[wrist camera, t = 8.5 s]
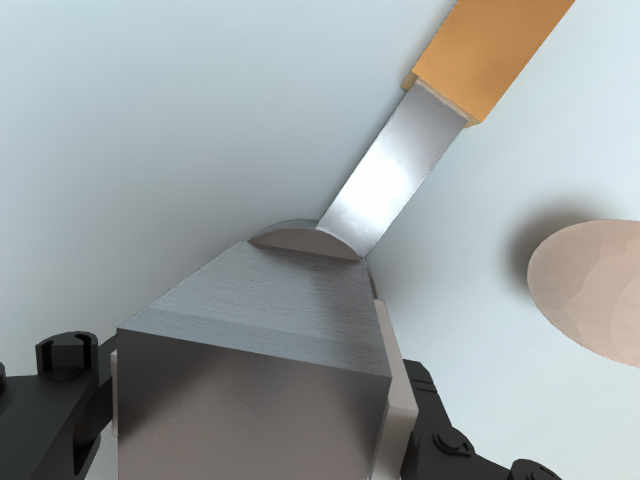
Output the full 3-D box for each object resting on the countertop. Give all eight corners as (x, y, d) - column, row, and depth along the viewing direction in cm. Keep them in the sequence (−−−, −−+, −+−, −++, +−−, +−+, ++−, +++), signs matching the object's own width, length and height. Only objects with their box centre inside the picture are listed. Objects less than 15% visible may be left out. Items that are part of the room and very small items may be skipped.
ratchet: (210, 302, 18) (139, 375, 12) (476, -123, 12) (614, -421, 6) (321, 372, 18) (310, 478, 12) (622, -4, 13) (886, -166, 7)
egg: (611, 199, 15) (894, 233, 7) (609, 300, 16) (851, 419, 8) (496, 219, 16) (645, 269, 8) (503, 314, 17) (638, 438, 9)
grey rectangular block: (229, 350, 16) (119, 529, 8) (239, 240, 14) (116, 327, 6) (342, 370, 15) (343, 574, 8) (364, 261, 14) (392, 377, 6)
